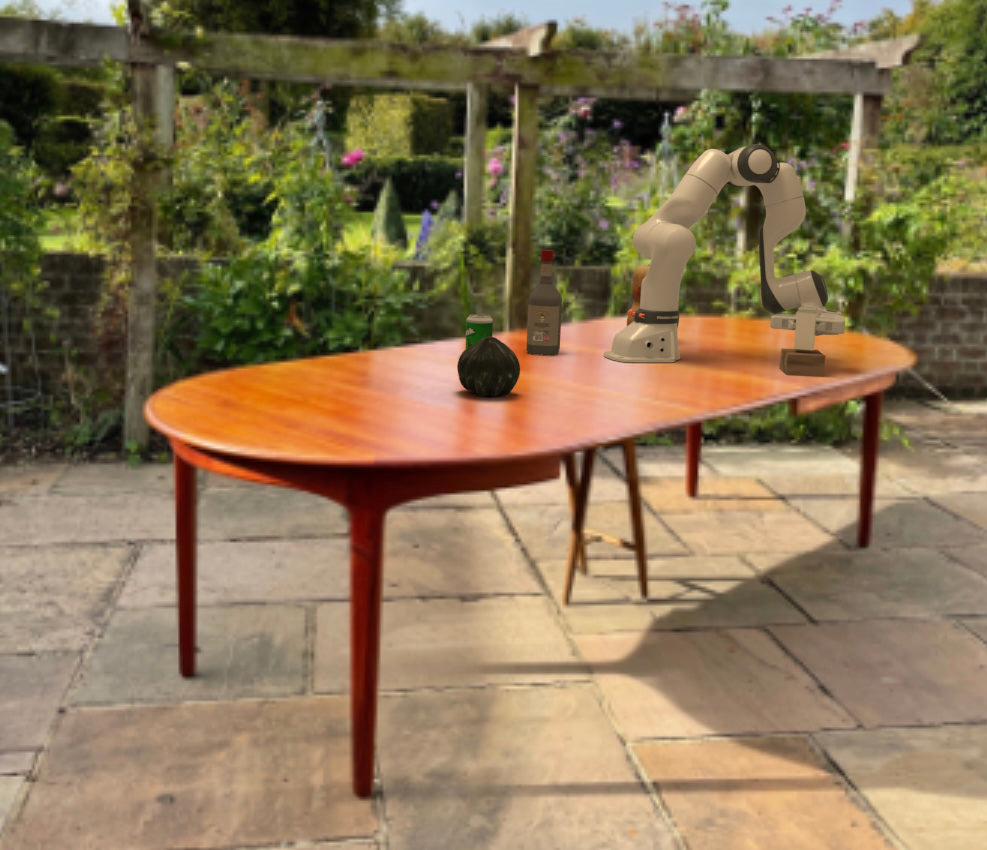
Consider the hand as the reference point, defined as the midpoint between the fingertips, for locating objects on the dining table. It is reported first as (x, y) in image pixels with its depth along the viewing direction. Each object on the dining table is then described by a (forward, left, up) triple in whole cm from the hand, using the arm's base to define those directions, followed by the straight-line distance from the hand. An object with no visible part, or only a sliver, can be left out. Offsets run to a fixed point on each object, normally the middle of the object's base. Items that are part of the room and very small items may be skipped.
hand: (805, 327), depth 300 cm
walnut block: (+1, +1, -13) cm, 13 cm away
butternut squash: (-16, +57, -13) cm, 61 cm away
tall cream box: (+1, +1, -6) cm, 6 cm away
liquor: (-58, +45, -13) cm, 75 cm away
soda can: (-80, +41, -13) cm, 91 cm away
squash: (-96, -7, -13) cm, 97 cm away
